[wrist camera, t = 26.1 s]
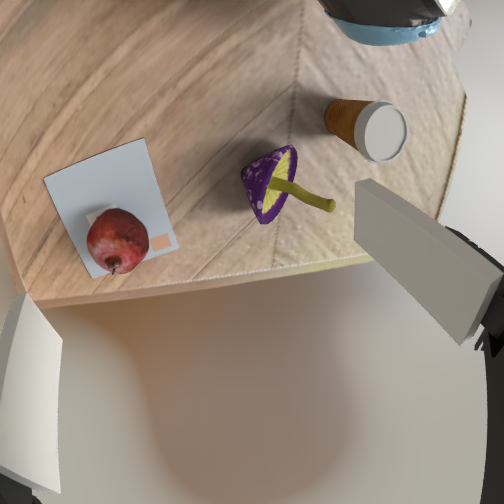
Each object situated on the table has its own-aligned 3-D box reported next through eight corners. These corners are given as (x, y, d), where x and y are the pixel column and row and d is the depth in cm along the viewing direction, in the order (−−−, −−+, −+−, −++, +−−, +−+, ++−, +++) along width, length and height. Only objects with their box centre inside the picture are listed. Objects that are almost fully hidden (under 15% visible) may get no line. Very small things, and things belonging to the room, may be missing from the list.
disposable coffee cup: (332, 154, 50) (376, 178, 41) (305, 110, 44) (351, 125, 35) (369, 124, 49) (417, 142, 40) (347, 79, 43) (398, 89, 34)
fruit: (139, 193, 43) (144, 223, 35) (151, 247, 48) (160, 285, 40) (81, 208, 40) (73, 241, 32) (98, 261, 46) (97, 301, 38)
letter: (43, 177, 36) (43, 178, 36) (143, 137, 39) (143, 138, 39) (92, 277, 47) (92, 279, 47) (179, 247, 50) (179, 248, 50)
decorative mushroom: (346, 163, 34) (236, 126, 38) (310, 258, 39) (209, 214, 43) (353, 168, 45) (268, 137, 50) (326, 240, 50) (245, 206, 54)
